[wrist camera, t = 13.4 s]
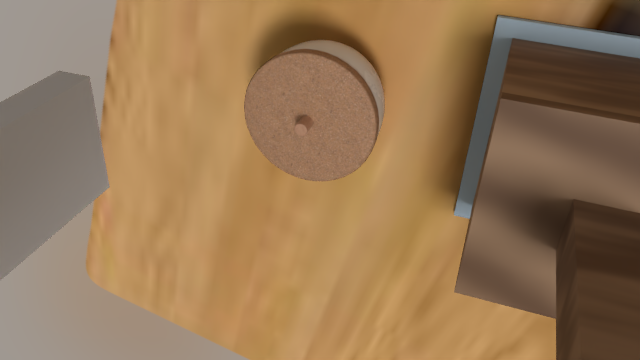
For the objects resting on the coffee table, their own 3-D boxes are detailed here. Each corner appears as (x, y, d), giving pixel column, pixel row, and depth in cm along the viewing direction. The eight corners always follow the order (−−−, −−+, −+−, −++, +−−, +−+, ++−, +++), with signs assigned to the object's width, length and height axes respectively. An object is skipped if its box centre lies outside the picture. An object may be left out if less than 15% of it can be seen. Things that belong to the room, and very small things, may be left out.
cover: (512, 37, 46) (476, 230, 25) (737, 73, 42) (922, 335, 21) (472, 205, 54) (418, 459, 33) (658, 247, 50) (734, 563, 29)
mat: (498, 14, 46) (497, 17, 45) (766, 55, 42) (769, 58, 41) (454, 211, 55) (453, 215, 55) (669, 261, 51) (670, 265, 51)
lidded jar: (358, -1, 49) (321, 34, 41) (420, 113, 52) (397, 164, 44) (257, 57, 54) (208, 96, 46) (319, 156, 57) (282, 209, 49)
